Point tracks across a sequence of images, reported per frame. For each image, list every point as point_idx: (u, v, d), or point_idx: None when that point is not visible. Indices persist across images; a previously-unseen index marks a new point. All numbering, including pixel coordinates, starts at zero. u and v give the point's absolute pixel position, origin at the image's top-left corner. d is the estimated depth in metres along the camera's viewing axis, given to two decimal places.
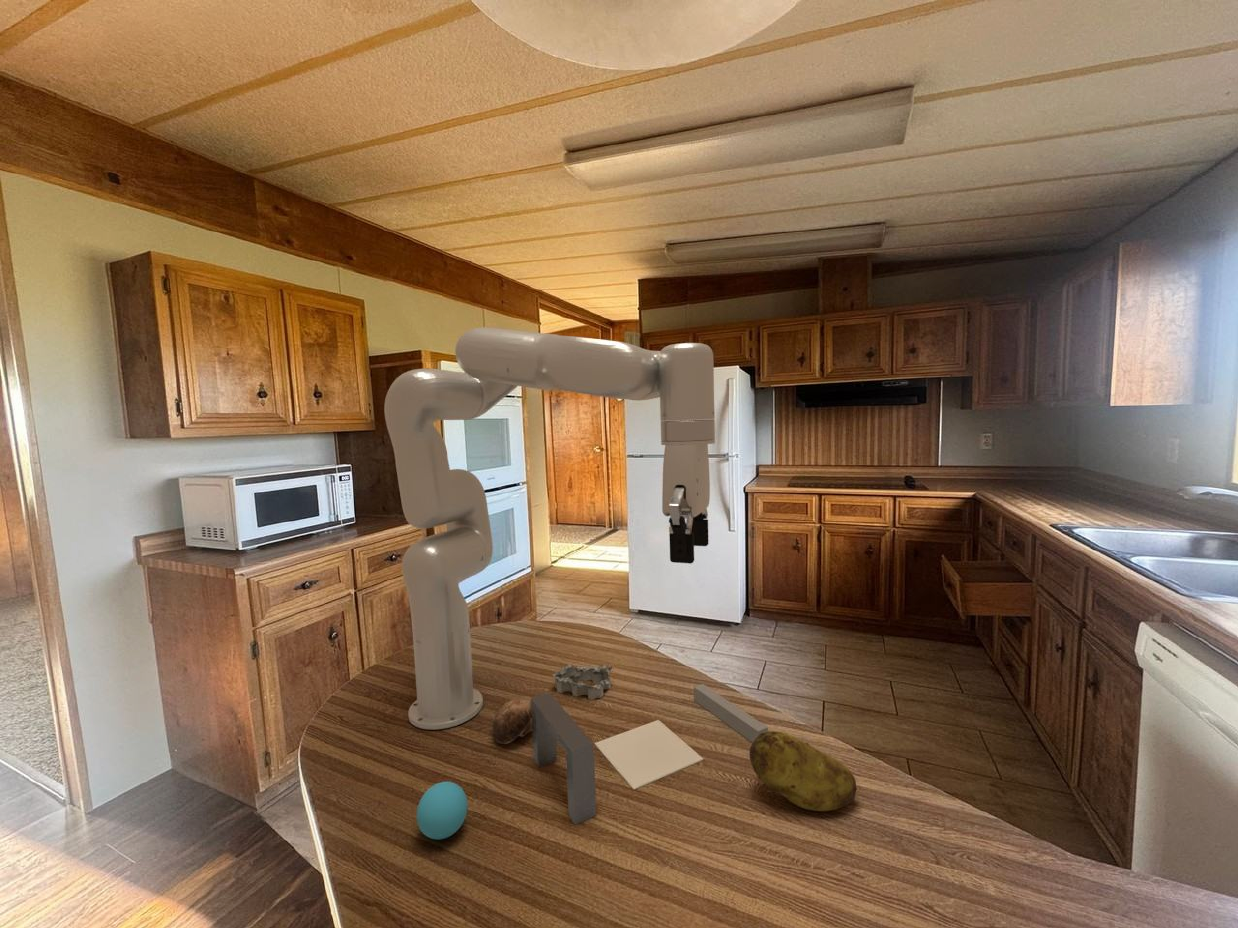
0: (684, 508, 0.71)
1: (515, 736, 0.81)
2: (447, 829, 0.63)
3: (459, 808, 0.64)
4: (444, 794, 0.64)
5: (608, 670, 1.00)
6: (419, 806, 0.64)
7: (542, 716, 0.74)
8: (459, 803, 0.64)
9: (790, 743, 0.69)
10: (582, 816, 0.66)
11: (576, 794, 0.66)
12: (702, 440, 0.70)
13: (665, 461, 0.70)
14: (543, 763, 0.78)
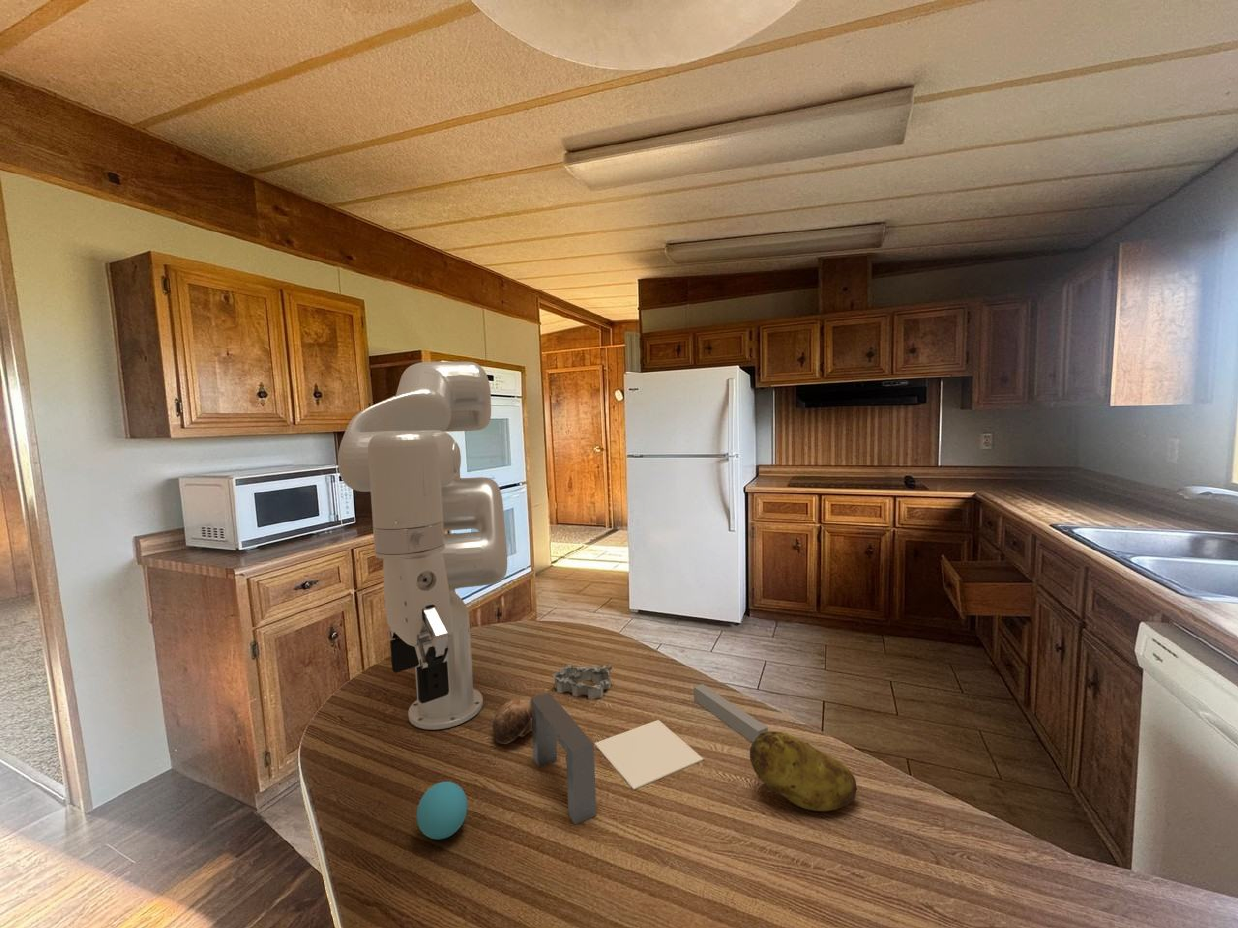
0: None
1: (515, 736, 0.81)
2: (447, 829, 0.63)
3: (459, 808, 0.64)
4: (444, 794, 0.64)
5: (608, 670, 1.00)
6: (419, 806, 0.64)
7: (542, 716, 0.74)
8: (459, 803, 0.64)
9: (790, 743, 0.69)
10: (582, 816, 0.66)
11: (576, 794, 0.66)
12: None
13: None
14: (543, 763, 0.78)
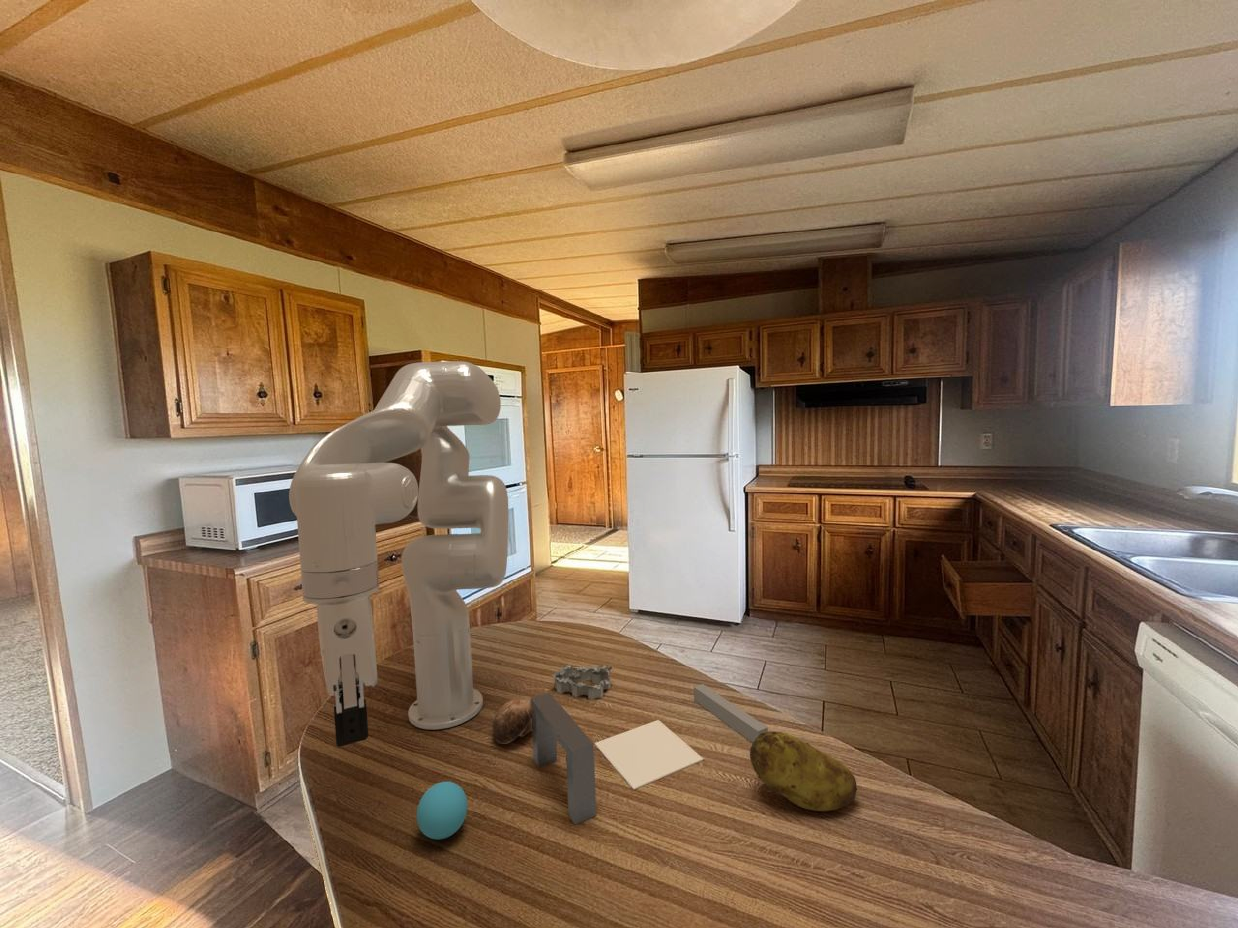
0: None
1: (515, 736, 0.81)
2: (447, 829, 0.63)
3: (459, 808, 0.64)
4: (444, 794, 0.64)
5: (608, 670, 1.00)
6: (419, 806, 0.64)
7: (542, 716, 0.74)
8: (459, 803, 0.64)
9: (790, 743, 0.69)
10: (582, 816, 0.66)
11: (576, 794, 0.66)
12: None
13: None
14: (543, 763, 0.78)
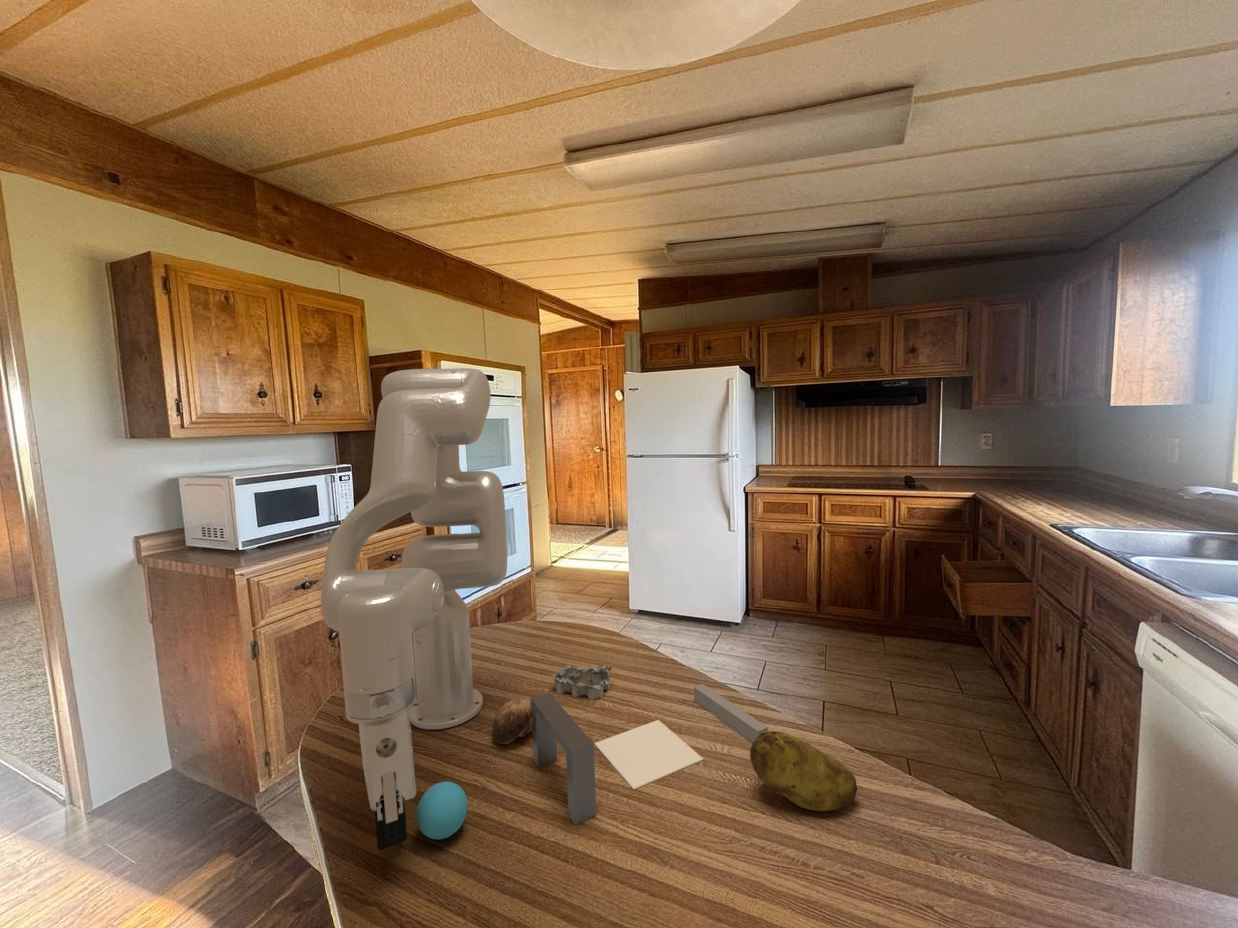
0: None
1: (515, 736, 0.81)
2: (447, 829, 0.63)
3: (459, 808, 0.64)
4: (444, 794, 0.64)
5: (608, 670, 1.00)
6: (419, 806, 0.64)
7: (542, 716, 0.74)
8: (459, 803, 0.64)
9: (790, 743, 0.69)
10: (582, 816, 0.66)
11: (576, 794, 0.66)
12: None
13: None
14: (543, 763, 0.78)
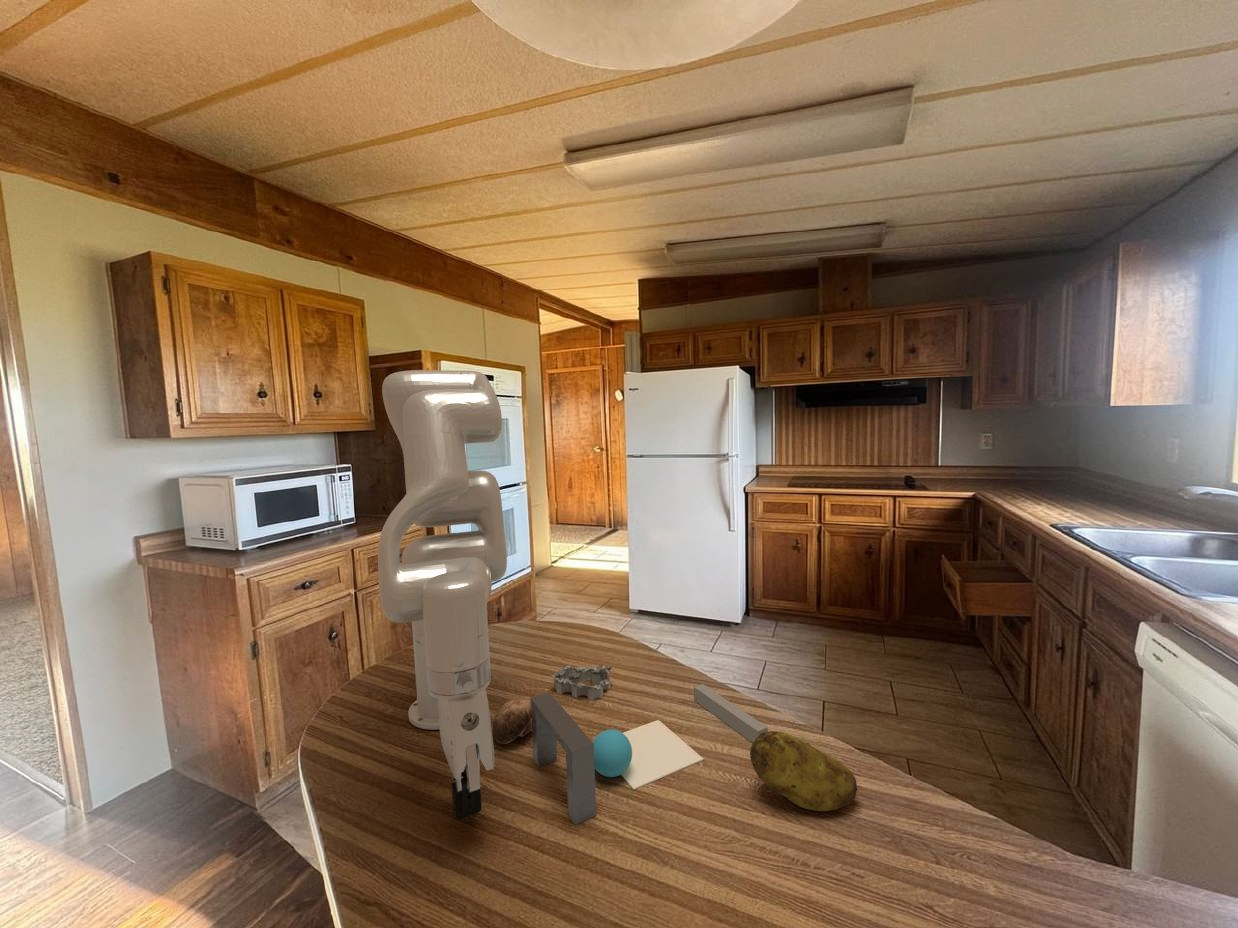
0: None
1: (515, 736, 0.81)
2: (617, 768, 0.72)
3: (628, 766, 0.74)
4: None
5: (607, 670, 1.00)
6: (612, 733, 0.75)
7: (542, 716, 0.74)
8: (629, 763, 0.74)
9: (791, 742, 0.69)
10: (582, 816, 0.66)
11: (576, 794, 0.66)
12: None
13: None
14: (543, 763, 0.78)
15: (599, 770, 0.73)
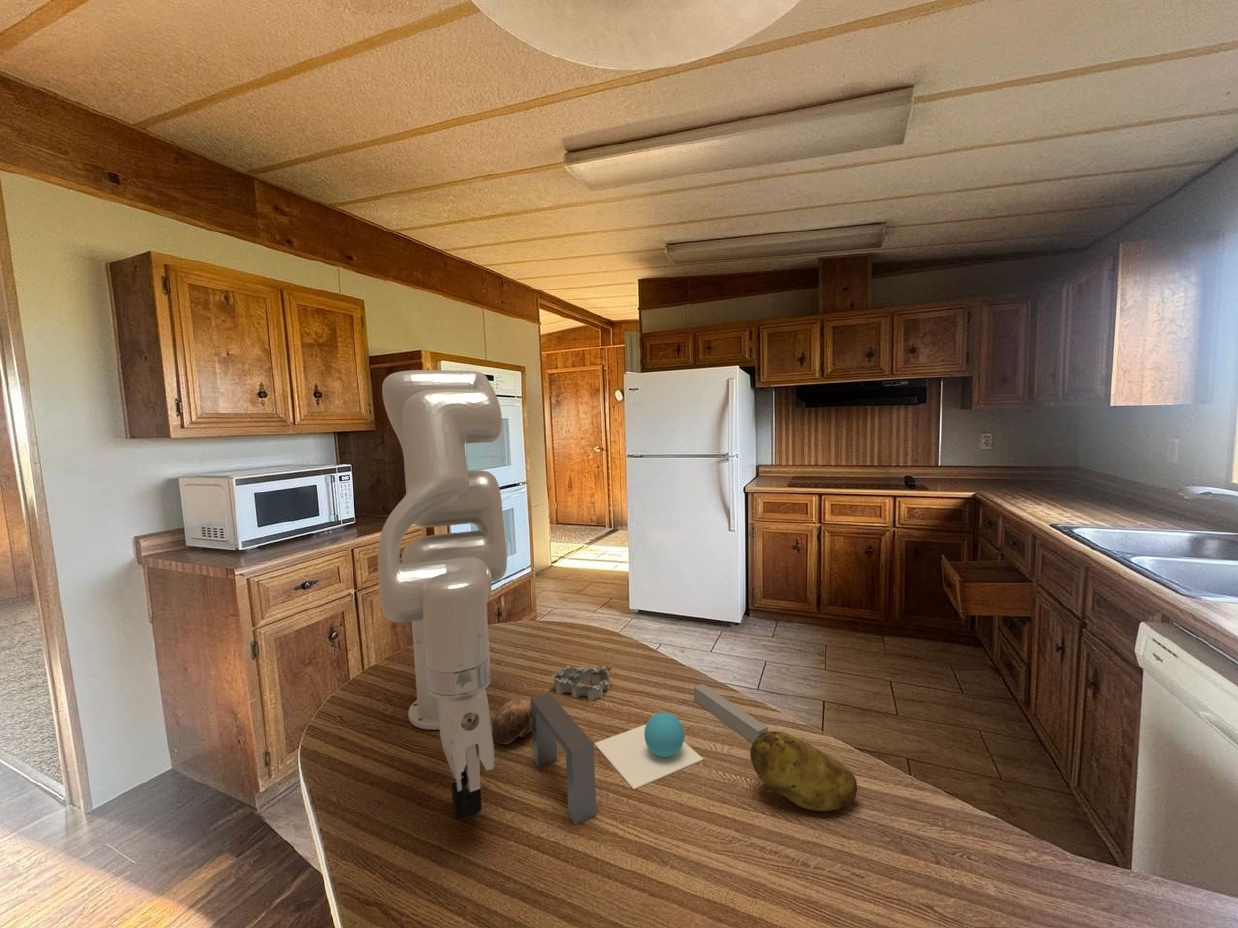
0: None
1: (515, 736, 0.81)
2: (676, 740, 0.77)
3: (661, 739, 0.76)
4: (655, 751, 0.77)
5: (607, 671, 1.00)
6: None
7: (542, 716, 0.74)
8: (658, 740, 0.76)
9: (791, 742, 0.69)
10: (582, 816, 0.66)
11: (576, 794, 0.66)
12: None
13: None
14: (543, 763, 0.78)
15: (681, 725, 0.79)
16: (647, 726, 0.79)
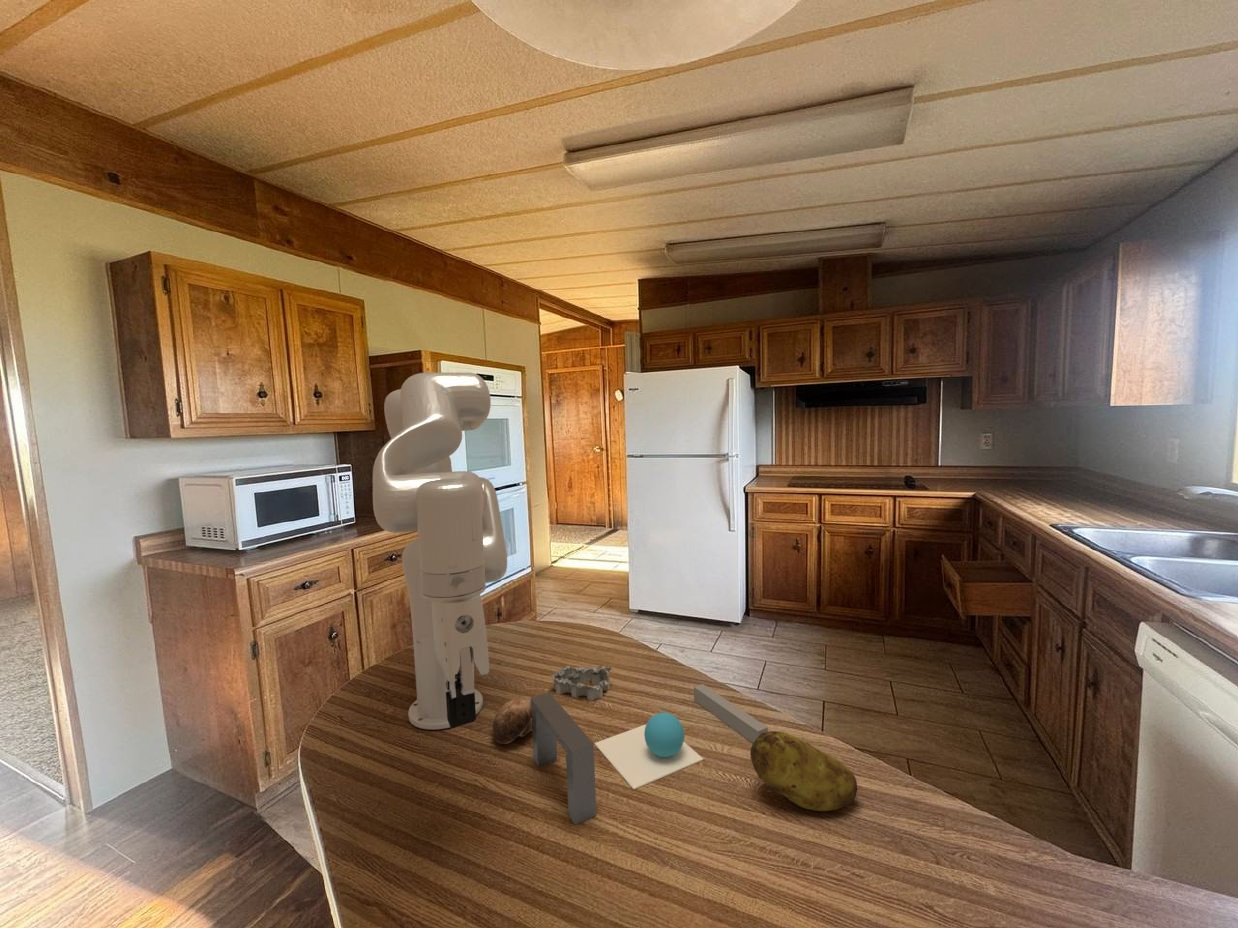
0: None
1: (515, 736, 0.81)
2: (676, 740, 0.77)
3: (661, 739, 0.76)
4: (655, 751, 0.77)
5: (607, 671, 1.00)
6: None
7: (542, 716, 0.74)
8: (658, 740, 0.76)
9: (791, 742, 0.69)
10: (582, 816, 0.66)
11: (576, 794, 0.66)
12: None
13: None
14: (543, 763, 0.78)
15: (681, 725, 0.79)
16: (647, 726, 0.79)
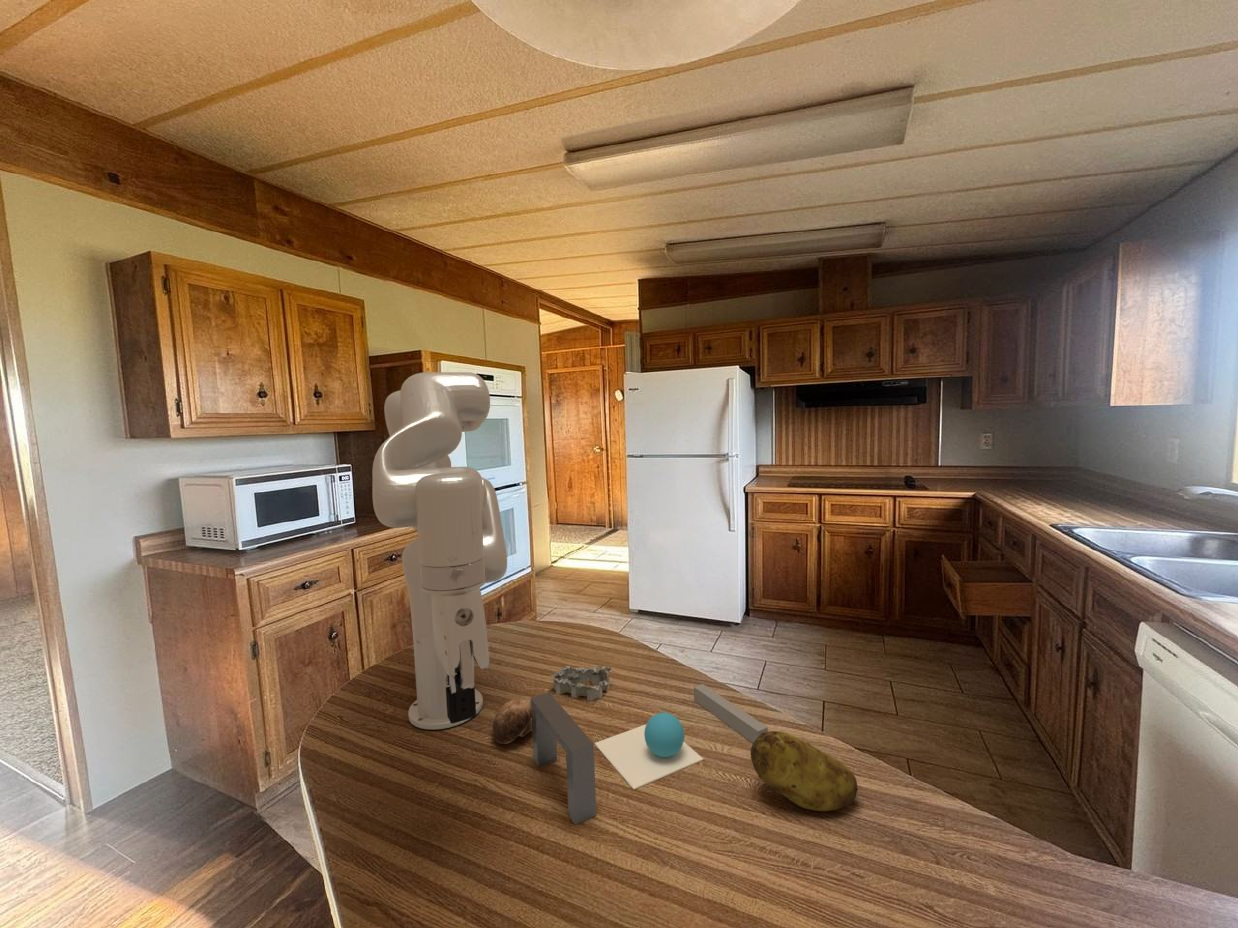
0: None
1: (515, 736, 0.81)
2: (676, 740, 0.77)
3: (661, 739, 0.76)
4: (655, 751, 0.77)
5: (607, 671, 1.00)
6: None
7: (542, 716, 0.74)
8: (658, 740, 0.76)
9: (791, 742, 0.69)
10: (582, 816, 0.66)
11: (576, 794, 0.66)
12: None
13: None
14: (543, 763, 0.78)
15: (681, 725, 0.79)
16: (647, 726, 0.79)
